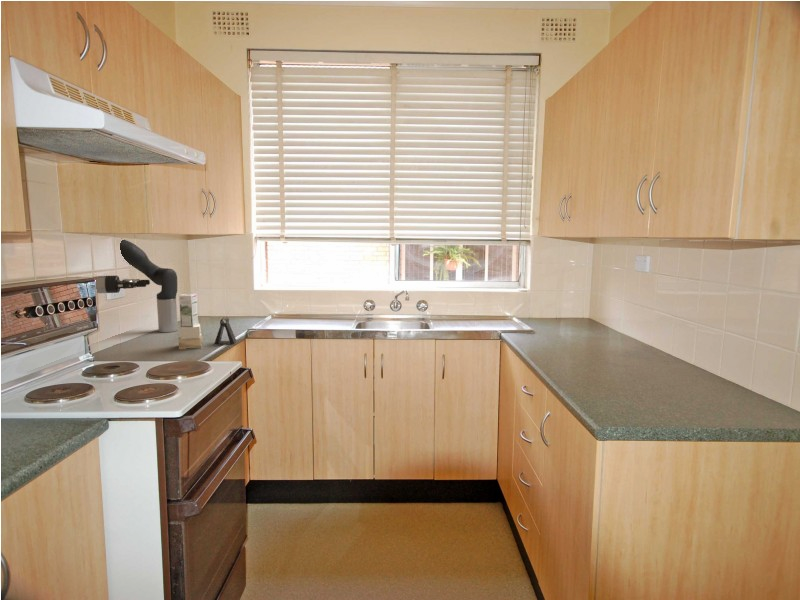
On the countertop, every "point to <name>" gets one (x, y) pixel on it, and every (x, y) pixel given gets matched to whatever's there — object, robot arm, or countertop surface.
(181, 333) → the tower top block
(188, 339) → the tower base block
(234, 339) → the dark grey triangular frame
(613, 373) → the countertop surface
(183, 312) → the syrup box
